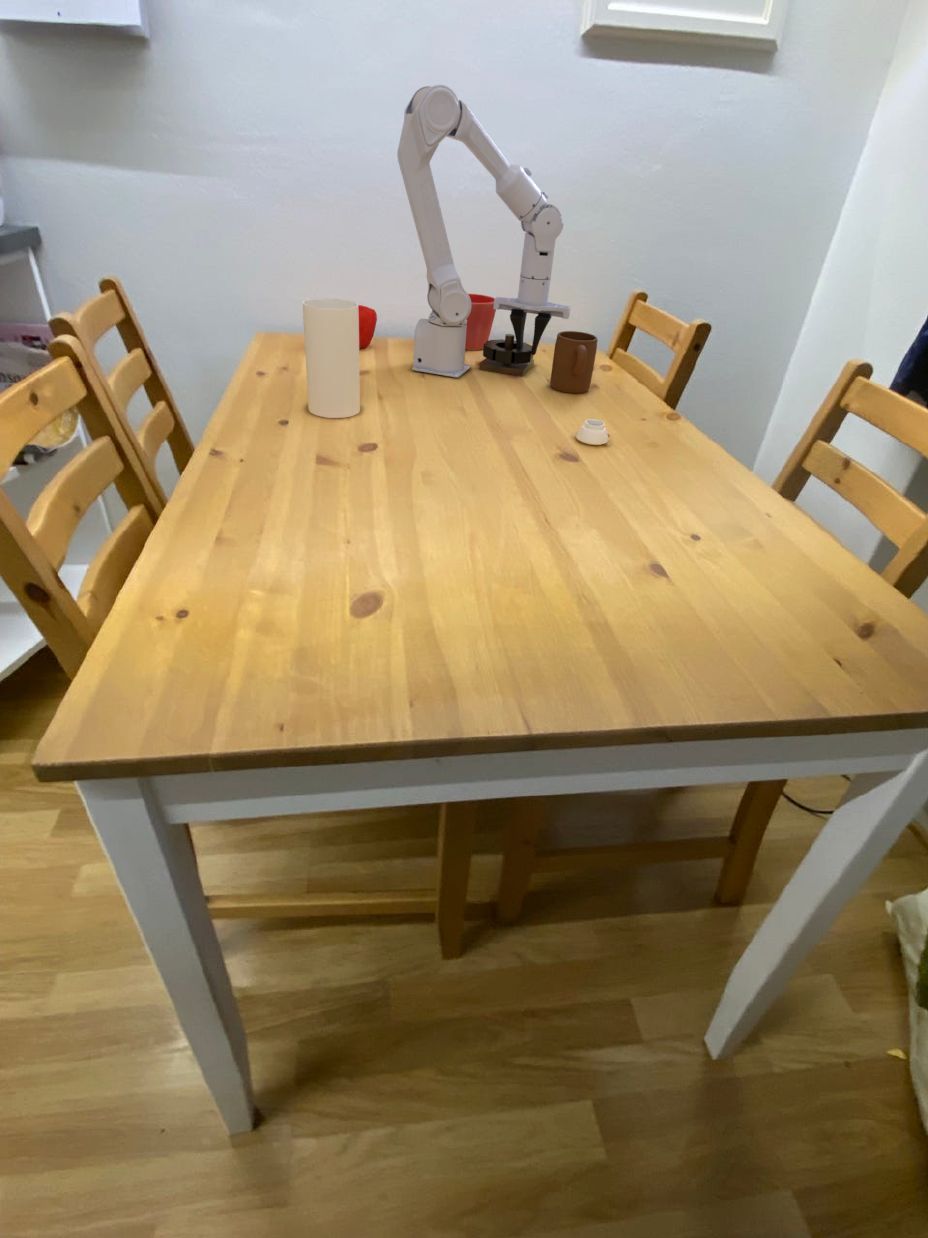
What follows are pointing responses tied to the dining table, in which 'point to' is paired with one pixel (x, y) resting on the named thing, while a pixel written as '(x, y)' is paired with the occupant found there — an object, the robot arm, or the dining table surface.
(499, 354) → the ring
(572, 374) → the mug
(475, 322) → the flower pot
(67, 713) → the dining table surface
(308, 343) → the cup
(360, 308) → the apple
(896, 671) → the dining table surface
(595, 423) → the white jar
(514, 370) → the post
